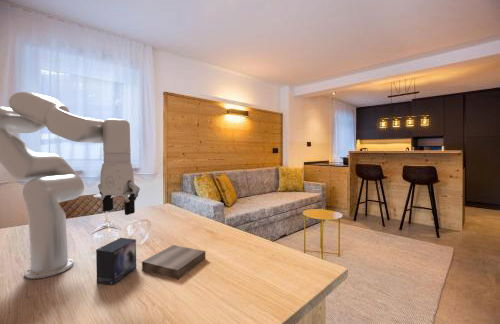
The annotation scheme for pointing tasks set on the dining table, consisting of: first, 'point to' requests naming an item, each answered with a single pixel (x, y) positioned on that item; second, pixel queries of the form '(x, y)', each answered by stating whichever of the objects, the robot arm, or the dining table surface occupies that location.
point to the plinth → (173, 261)
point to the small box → (115, 260)
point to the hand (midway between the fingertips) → (118, 212)
